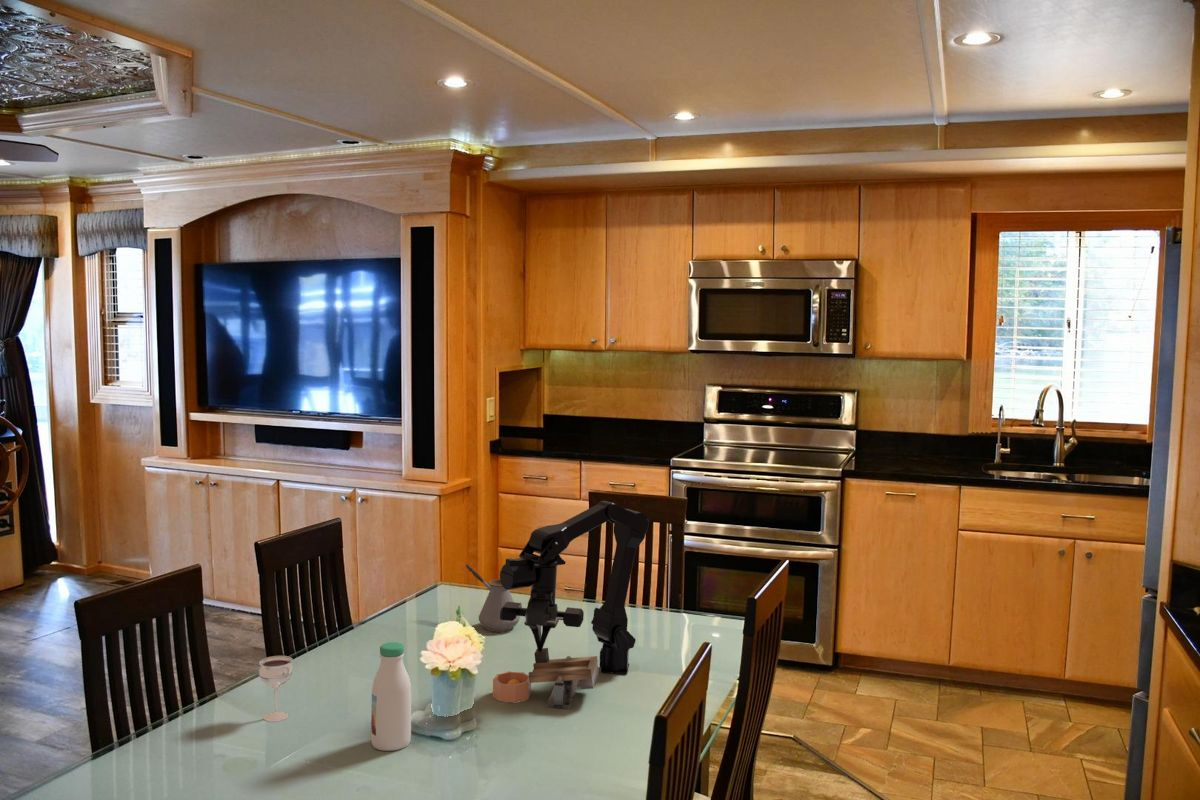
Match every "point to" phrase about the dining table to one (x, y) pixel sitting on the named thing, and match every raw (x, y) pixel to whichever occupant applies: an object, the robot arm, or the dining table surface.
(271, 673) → the wineglass
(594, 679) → the lever
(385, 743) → the milk bottle
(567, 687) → the stand
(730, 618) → the dining table surface
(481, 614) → the coffee pot
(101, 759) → the dining table surface
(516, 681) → the ball
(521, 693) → the terracotta octagonal container
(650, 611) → the dining table surface
